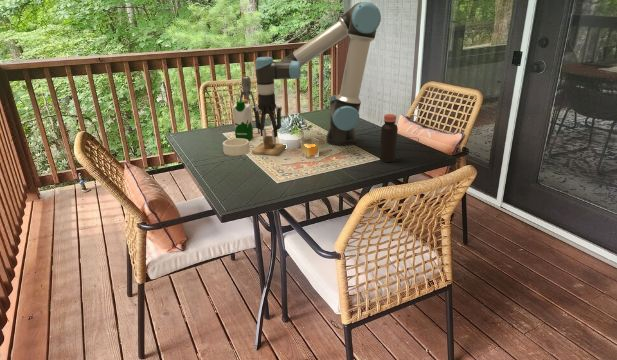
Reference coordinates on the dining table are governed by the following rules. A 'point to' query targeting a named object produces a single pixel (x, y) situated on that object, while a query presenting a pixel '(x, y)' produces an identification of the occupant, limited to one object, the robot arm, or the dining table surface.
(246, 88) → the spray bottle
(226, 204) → the dining table surface
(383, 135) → the bottle
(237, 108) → the milk carton
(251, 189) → the dining table surface
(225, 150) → the bowl
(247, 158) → the dining table surface
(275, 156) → the mat
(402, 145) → the dining table surface
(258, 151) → the lid
